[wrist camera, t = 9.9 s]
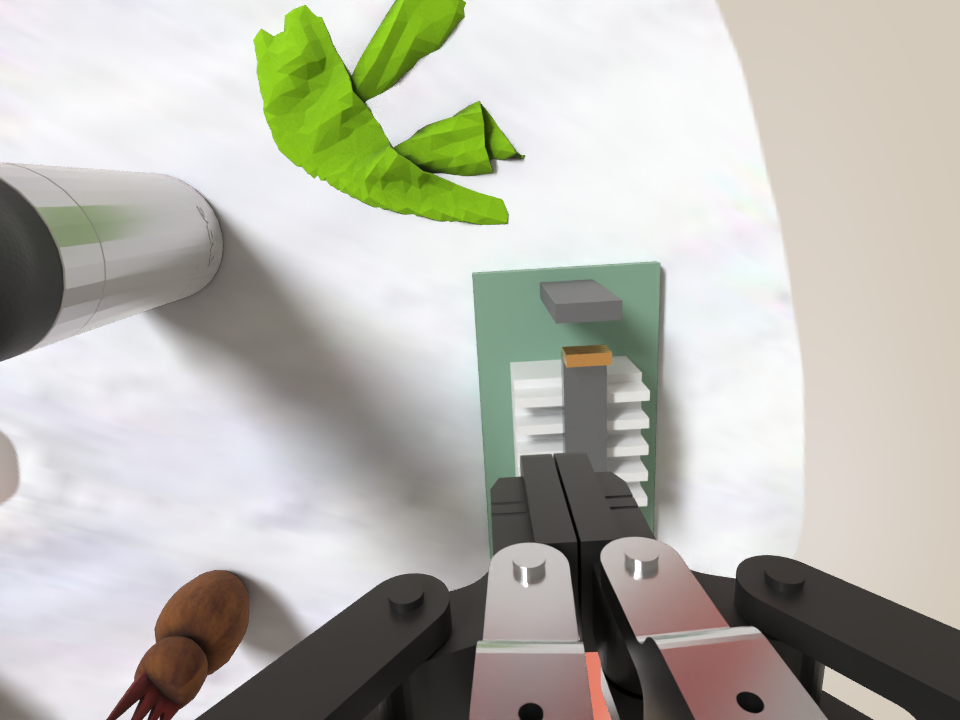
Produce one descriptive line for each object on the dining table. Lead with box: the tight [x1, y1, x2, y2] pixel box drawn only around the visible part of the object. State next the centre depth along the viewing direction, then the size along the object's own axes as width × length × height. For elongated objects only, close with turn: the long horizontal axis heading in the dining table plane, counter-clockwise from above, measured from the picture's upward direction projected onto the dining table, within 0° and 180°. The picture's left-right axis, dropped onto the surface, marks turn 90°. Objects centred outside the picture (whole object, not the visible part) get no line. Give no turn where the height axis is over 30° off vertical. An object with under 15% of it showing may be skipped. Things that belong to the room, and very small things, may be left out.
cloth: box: [254, 0, 525, 225], centre depth 40 cm, size 20×22×2 cm
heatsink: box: [472, 262, 660, 560], centre depth 42 cm, size 14×25×10 cm, turn 3°
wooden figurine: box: [107, 570, 249, 720], centre depth 44 cm, size 7×6×15 cm
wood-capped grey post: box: [561, 344, 612, 472], centre depth 39 cm, size 19×3×2 cm, turn 3°
